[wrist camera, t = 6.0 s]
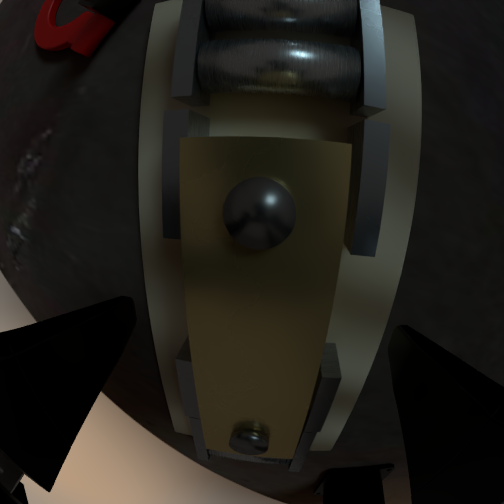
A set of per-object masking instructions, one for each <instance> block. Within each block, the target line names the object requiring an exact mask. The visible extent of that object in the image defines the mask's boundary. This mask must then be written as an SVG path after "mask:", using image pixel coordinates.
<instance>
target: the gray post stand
mask: <svg viewBox="0 0 504 504" xmlns="http://www.w3.org/2000/svg"><path fill="white" fill-rule="evenodd" d="M61 1H62V0H45V2H44V4H43V6H42V8H41V10H40V12H39V15H38V17H37V21H36V25H35V41H36V43H37V45H38V46H39V47H41V48H43V49H45V50H49V51H60V50H63V49H65V48H68V47H70V46H71V47H70V48H71V49H72V50H73V51H75V52H77V53H79V54H82V55H84V56H87V57H91V55H92V54H93V52H94V51H95V49H96V48H97V47H98V45H99V44H100V43H101V41H102V40H103V38H104V37H105V36H106V35H107V33H108V32H109V31H110V29H111V28H112V27H113V26H114V24H115V23H118V22H119V21H120V20H121V19H122V17H123V16H124V15H125V14H126V13H127V12H128V10H129V9H130V8H131V7H132V6H133V5H134V4H135V3H136V2H137V1H138V0H80V1H79V2H78V4H80V5H82V6H84V7H86V8H88V9H89V10H91V11H93V12H95V14H94V13H91V12H88V11H87V12H84V13H83V14H81V15H80V16H79V17H78V18H76V19H75V20H73V21H72V22H70V23H68V24H66V25H64V26H61V27H57V26H56V24H55V16H56V12H57V9H58V7H59V5H60V3H61Z"/></svg>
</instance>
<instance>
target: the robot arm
mask: <svg viewBox="0 0 504 504" xmlns="http://www.w3.org/2000/svg"><path fill="white" fill-rule="evenodd" d="M136 320H137V317H136V311H135V306H134V301H133V299H132V298H131V297H126V296H120V297H117V298H113V299H110V300H107V301H104V302H101V303H98V304H95V305H91V306H88V307H85V308H82V309H79V310H76V311H72V312H69V313H66V314H63V315H60V316H56V317H53V318H50V319H47V320H44V321H42V322H41V321H40V322H37V323H34V324H31V325H27V326H24V327H21V328H17V329H13V330H9V331H5V332H0V504H28V500H27V496H26V493H25V489H24V485H23V484H22V483H21V482H20V480H21V479H22V477H23V475H24V474H25V475H26V476H28V477H29V478H30V479H32V480H33V481H34V482H35V483H37V484H38V485H39V486H41V487H42V488H44V489H45V490H46V491H48V492H50V491H51V489H52V487H53V485H54V483H55V480H56V478H57V476H58V474H59V471H60V469H61V467H62V465H63V463H64V461H65V459H66V457H67V455H68V453H69V451H70V449H71V446H72V444H73V442H74V440H75V438H76V436H77V434H78V432H79V431H80V429H81V427H82V425H83V423H84V421H85V419H86V417H87V415H88V413H89V411H90V410H91V408H92V406H93V404H94V402H95V401H96V399H97V397H98V395H99V393H100V392H101V390H102V388H103V386H104V384H105V383H106V381H107V379H108V377H109V376H110V374H111V372H112V370H113V369H114V367H115V365H116V364H117V362H118V360H119V358H120V357H121V355H122V353H123V351H124V348H125V346H126V344H127V342H128V340H129V337H130V335H131V333H132V331H133V329H134V327H135V324H136ZM388 356H389V363H390V370H391V378H392V385H393V390H394V395H395V399H396V404H397V408H398V413H399V418H400V423H401V428H402V433H403V439H404V444H405V450H406V457H407V464H408V471H409V479H410V488H411V495H412V496H411V500H412V504H504V387H503V386H501V385H500V384H498V383H496V382H495V381H493V380H492V379H490V378H488V377H487V376H485V375H484V374H482V373H481V372H479V371H478V372H477V370H476V369H475V368H473V367H472V366H470V365H468V364H467V363H465V362H464V361H462V360H461V359H459V358H458V357H456V356H455V355H453V354H452V353H450V352H449V351H447V350H445V349H444V348H442V347H441V346H439V345H438V344H436V343H435V342H433V341H431V340H430V339H428V338H427V337H425V336H424V335H422V334H420V333H419V332H417V331H416V330H414V329H413V328H411V327H409V326H408V325H397V326H396V327H395V328H394V331H393V334H392V336H391V339H390V342H389V345H388ZM393 470H394V464H389V465H382V466H374V467H364V468H352V469H334V470H329V471H328V472H327V473H326V474H325V476H324V477H323V479H322V480H321V482H320V483H319V484H318V486H317V487H316V488H315V490H314V495H323V504H385V501H384V493H383V485H382V480H383V479H384V478H385V477H386V476H388V475H389V474H390V473H391V472H392V471H393Z"/></svg>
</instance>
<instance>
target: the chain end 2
mask: <svg viewBox="0 0 504 504" xmlns="http://www.w3.org/2000/svg"><path fill="white" fill-rule="evenodd" d="M175 362H176V368H177V374H178V380H179V386H180V391H181V397H182V402H183V407H184V412H185V416H189V420H190V425H191V429H192V434H193V439H194V443H195V448H196V452H197V456H198V459H201V460H206V461H209V458H210V455H213V456H218V457H224V458H230V459H236V460H243V461H251V462H260V463H270V464H284V465H289V466H288V471H296V472H299V471H300V469H301V467H302V465H303V462H304V460H305V458H306V456H307V454H308V452H309V450H310V447H311V445H312V443H313V441H314V438H315V436H316V434H317V432H321V430H322V427H323V425H324V423H325V420H326V418H327V415H328V413H329V410H330V408H331V405H332V403H333V400H334V398H335V395H336V392H337V390H338V387H339V384H340V382H341V379H342V376H341V370H340V365H339V359H338V354H337V348H336V343H325V347H324V351H323V355H322V359H321V364H320V368H319V372H318V376H317V380H316V383H315V387H314V391H313V395H312V398H311V402H310V405H309V409H308V412H307V416H306V419H305V422H304V425H303V429H302V432H301V435H300V438H299V441H298V444H297V447H296V450H295V453H294V456H293V459H283V458H269V457H258V456H249V455H241V454H234V453H228V452H221V451H216V450H210V449H206V445H205V440H204V435H203V430H202V424H201V419H200V413H199V407H198V401H197V394H196V388H195V381H194V374H193V367H192V359H191V351H190V343H189V334H188V336H187V338H186V340H185V342H184V343H183V345H182V347H181V349H180V351H179V353H178V354H177V356H176V358H175Z"/></svg>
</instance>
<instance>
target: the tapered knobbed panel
mask: <svg viewBox="0 0 504 504" xmlns="http://www.w3.org/2000/svg"><path fill="white" fill-rule="evenodd" d="M351 153H352V144H348V143H340V142H331V141H321V140H310V139H297V138H281V137H254V136H210V137H184V138H180V225H181V248H182V265H183V280H184V293H185V304H186V315H187V325H188V334H189V343H190V351H191V359H192V367H193V374H194V381H195V388H196V394H197V401H198V407H199V413H200V419H201V424H202V430H203V435H204V440H205V445H206V449H210V450H216V451H221V452H228V453H234V454H241V455H249V456H258V457H269V458H283V459H293V456H294V453H295V450H296V447H297V444H298V441H299V438H300V435H301V432H302V429H303V425H304V422H305V419H306V416H307V412H308V409H309V405H310V402H311V398H312V395H313V391H314V387H315V383H316V380H317V376H318V372H319V368H320V364H321V359H322V355H323V351H324V347H325V342H326V338H327V333H328V328H329V323H330V318H331V313H332V308H333V303H334V297H335V292H336V286H337V280H338V274H339V268H340V261H341V254H342V247H343V240H344V232H345V223H346V214H347V205H348V194H349V183H350V170H351Z"/></svg>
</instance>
